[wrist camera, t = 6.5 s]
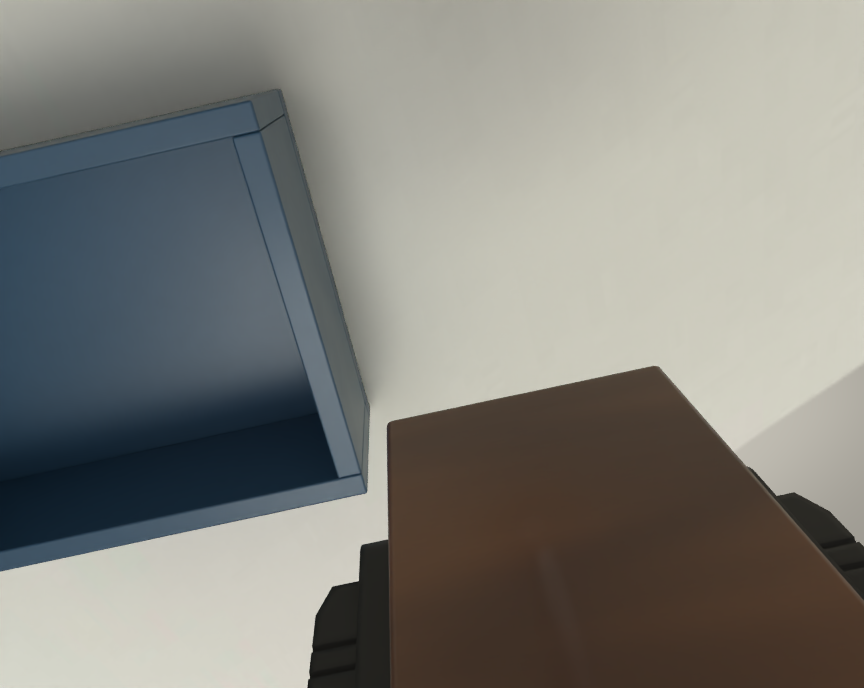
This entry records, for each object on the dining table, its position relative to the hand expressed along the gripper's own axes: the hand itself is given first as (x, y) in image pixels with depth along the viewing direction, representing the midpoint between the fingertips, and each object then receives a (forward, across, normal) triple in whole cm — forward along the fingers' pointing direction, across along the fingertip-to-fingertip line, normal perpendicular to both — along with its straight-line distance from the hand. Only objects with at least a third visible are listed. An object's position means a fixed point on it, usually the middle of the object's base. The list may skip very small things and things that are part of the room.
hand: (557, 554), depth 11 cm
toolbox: (+17, +13, -1) cm, 21 cm away
